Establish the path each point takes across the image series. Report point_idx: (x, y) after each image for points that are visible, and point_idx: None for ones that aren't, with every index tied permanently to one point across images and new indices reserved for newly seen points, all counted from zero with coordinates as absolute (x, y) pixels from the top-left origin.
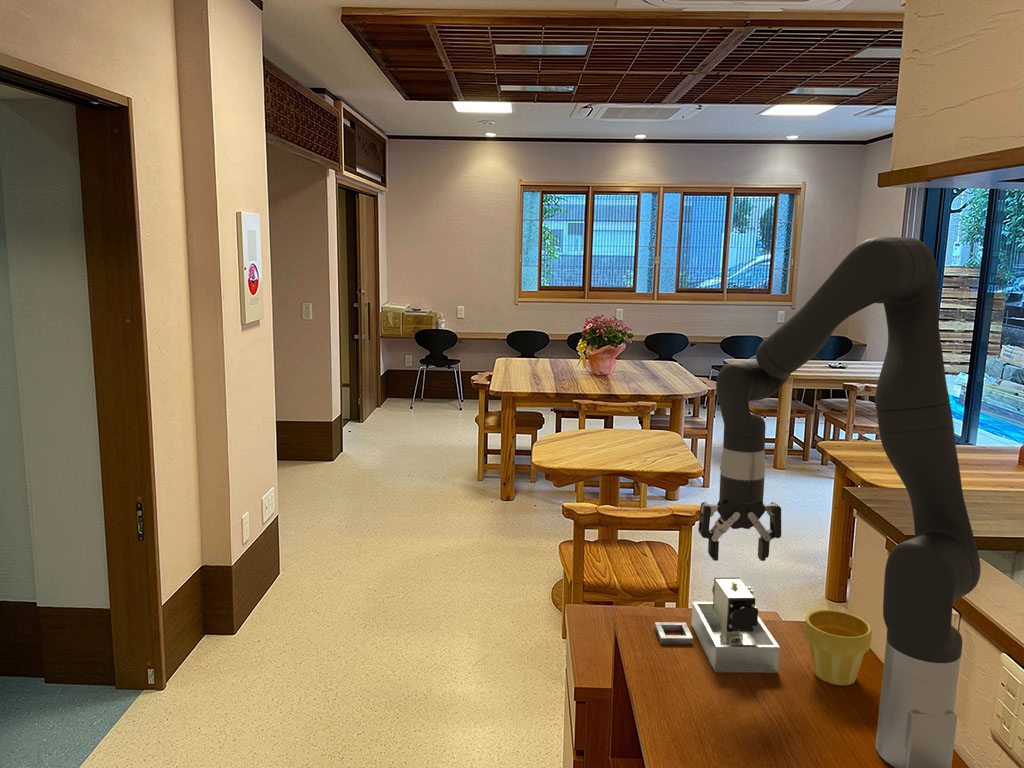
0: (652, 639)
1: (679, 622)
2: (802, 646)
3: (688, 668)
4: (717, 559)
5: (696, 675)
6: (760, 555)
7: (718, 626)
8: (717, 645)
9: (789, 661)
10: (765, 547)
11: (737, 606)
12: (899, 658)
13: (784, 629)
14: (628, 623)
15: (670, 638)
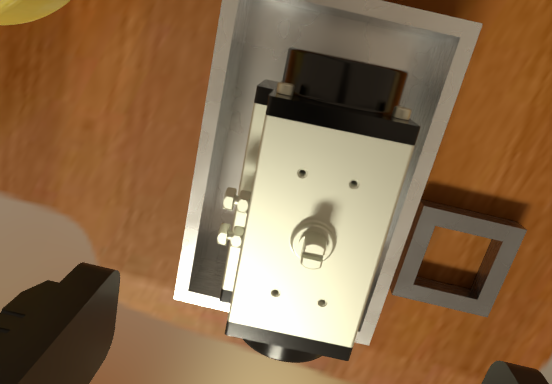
0: (525, 251)
1: (411, 298)
2: (89, 113)
3: (519, 70)
4: (511, 365)
5: (519, 23)
6: (99, 318)
7: None
8: (472, 31)
9: (172, 39)
10: (9, 341)
11: (376, 96)
12: None
13: (97, 213)
14: (541, 345)
15: (496, 222)
